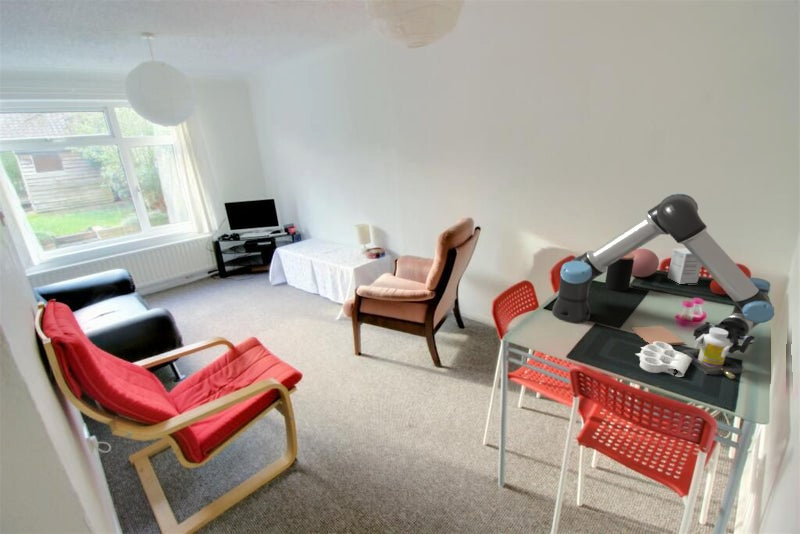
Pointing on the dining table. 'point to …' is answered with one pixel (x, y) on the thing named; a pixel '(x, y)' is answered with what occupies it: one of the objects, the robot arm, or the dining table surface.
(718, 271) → the robot arm
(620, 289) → the coffee jar
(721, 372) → the dark gray square frame
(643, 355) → the knuckle duster
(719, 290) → the apple
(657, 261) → the balloon
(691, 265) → the supplement box
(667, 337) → the terracotta tile
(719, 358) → the supplement bottle
